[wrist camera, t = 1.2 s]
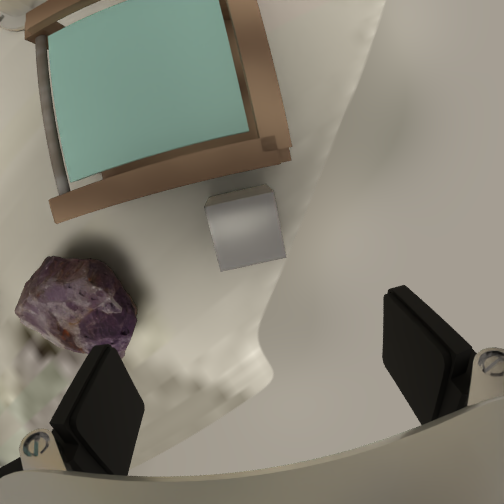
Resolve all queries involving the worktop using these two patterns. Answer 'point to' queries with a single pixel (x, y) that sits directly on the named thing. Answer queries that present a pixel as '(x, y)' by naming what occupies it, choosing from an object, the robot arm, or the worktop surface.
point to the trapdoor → (143, 83)
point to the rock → (78, 305)
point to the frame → (186, 158)
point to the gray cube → (245, 227)
